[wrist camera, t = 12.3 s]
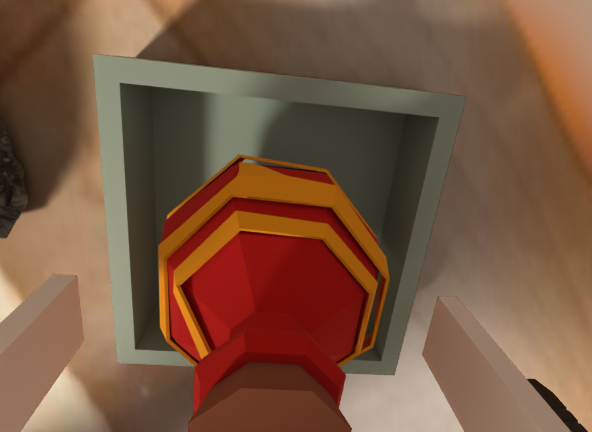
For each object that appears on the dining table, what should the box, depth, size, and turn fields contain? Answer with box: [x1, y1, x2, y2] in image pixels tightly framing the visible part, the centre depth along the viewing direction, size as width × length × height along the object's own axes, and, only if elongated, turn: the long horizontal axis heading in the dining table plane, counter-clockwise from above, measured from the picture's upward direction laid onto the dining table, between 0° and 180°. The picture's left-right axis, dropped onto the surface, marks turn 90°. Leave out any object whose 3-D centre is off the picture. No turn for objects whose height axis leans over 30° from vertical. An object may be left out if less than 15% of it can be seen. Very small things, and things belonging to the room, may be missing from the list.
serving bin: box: [93, 54, 466, 375], centre depth 21 cm, size 16×16×5 cm
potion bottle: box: [158, 154, 390, 432], centre depth 16 cm, size 10×10×15 cm
